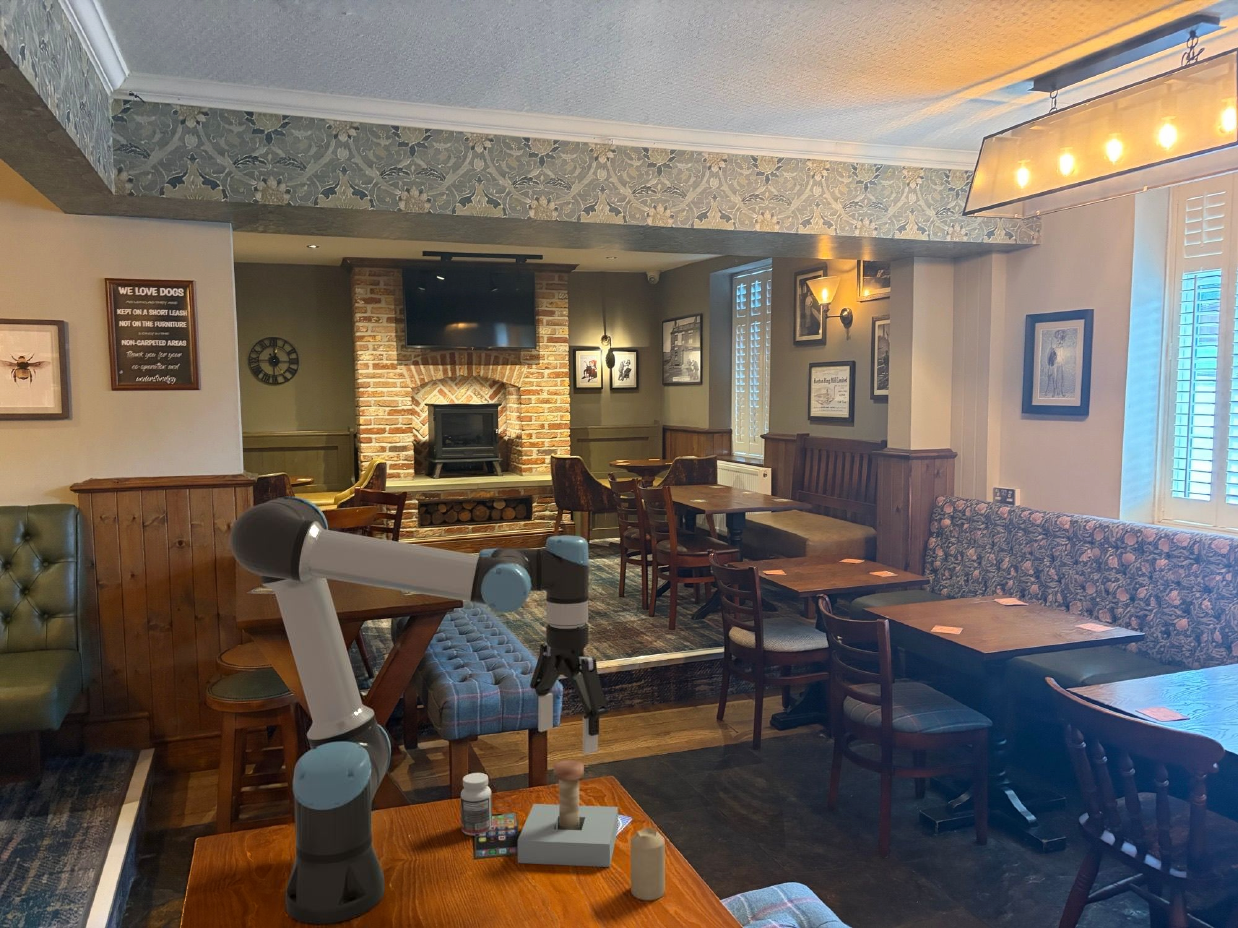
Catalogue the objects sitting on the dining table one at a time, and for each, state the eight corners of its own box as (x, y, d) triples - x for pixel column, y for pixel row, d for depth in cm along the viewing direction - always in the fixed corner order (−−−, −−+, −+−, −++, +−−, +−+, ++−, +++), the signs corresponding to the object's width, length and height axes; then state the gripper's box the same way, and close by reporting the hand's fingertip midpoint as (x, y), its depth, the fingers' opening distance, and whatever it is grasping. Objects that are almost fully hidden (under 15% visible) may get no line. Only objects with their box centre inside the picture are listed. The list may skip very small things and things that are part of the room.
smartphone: (474, 861, 151) (474, 854, 151) (474, 821, 165) (474, 814, 165) (521, 857, 152) (520, 850, 152) (517, 817, 167) (517, 811, 167)
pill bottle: (468, 820, 165) (467, 770, 164) (496, 823, 163) (495, 772, 163) (456, 835, 159) (455, 782, 159) (485, 838, 158) (484, 785, 157)
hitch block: (518, 862, 149) (517, 840, 149) (533, 824, 163) (533, 803, 163) (609, 866, 148) (609, 843, 147) (618, 827, 161) (617, 806, 161)
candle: (662, 902, 137) (662, 841, 136) (628, 898, 138) (627, 838, 137) (667, 883, 142) (666, 824, 141) (634, 880, 143) (633, 821, 143)
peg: (552, 851, 153) (551, 771, 152) (557, 836, 158) (556, 759, 157) (582, 852, 152) (581, 772, 151) (586, 837, 158) (585, 760, 157)
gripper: (628, 633, 146) (628, 756, 147) (545, 608, 165) (545, 716, 166) (593, 641, 141) (593, 768, 142) (511, 613, 160) (511, 725, 161)
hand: (567, 740), depth 154 cm, fingers open, 13 cm apart
